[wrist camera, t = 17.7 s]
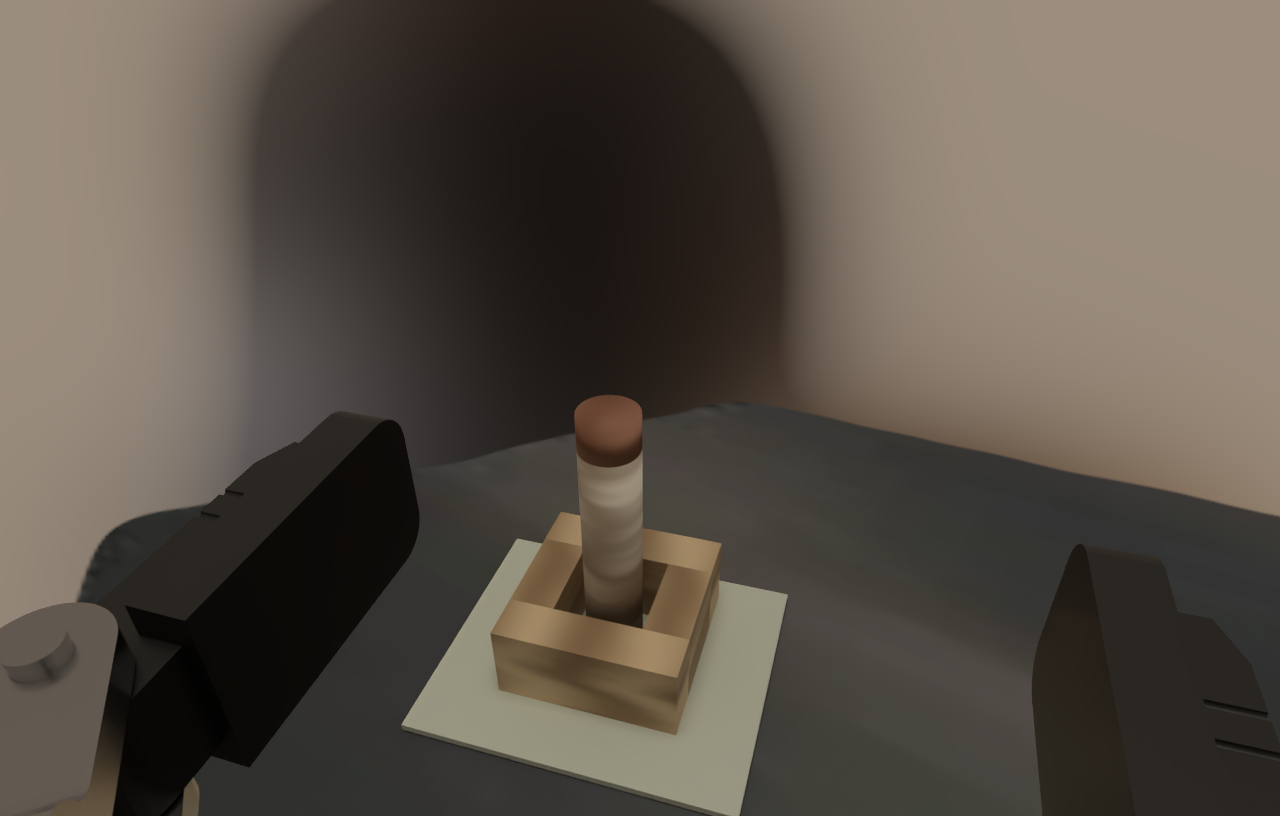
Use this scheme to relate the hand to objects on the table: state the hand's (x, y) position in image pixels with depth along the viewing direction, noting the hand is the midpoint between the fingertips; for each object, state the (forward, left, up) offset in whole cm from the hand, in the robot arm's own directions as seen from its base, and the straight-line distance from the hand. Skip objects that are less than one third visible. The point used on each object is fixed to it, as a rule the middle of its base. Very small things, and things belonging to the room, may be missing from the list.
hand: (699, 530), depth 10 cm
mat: (+10, -23, -32) cm, 41 cm away
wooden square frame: (+10, -24, -32) cm, 41 cm away
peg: (+10, -24, -32) cm, 41 cm away
